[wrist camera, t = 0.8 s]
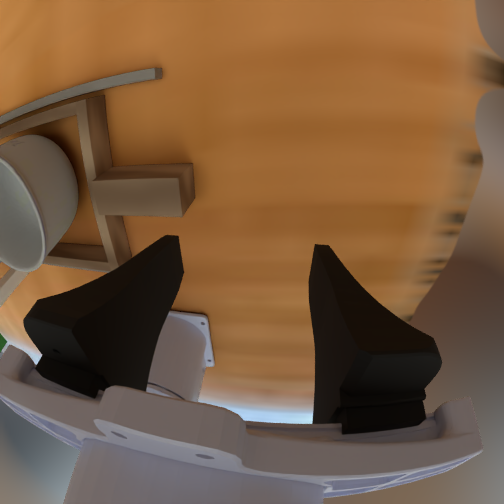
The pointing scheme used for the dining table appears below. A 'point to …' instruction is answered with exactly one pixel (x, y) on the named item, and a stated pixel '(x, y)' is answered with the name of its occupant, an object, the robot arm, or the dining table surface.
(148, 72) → the shelf
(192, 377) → the robot arm
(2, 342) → the hardback book
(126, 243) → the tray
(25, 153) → the teacup
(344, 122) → the dining table surface
